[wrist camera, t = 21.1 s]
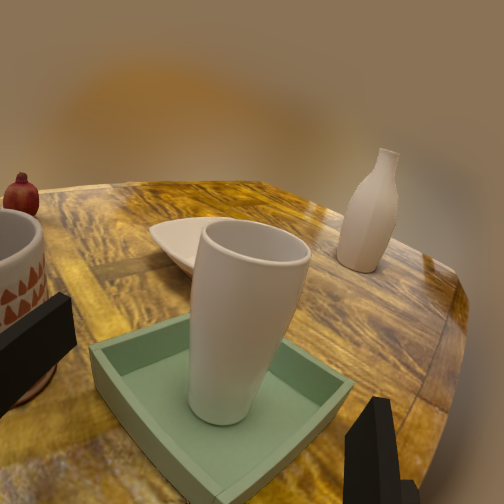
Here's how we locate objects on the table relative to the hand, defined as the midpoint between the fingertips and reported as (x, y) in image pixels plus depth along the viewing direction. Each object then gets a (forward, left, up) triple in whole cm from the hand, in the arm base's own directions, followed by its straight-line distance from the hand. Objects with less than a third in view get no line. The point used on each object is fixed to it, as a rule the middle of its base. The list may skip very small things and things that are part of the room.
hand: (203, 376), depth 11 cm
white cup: (+4, -7, -12) cm, 15 cm away
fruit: (+55, 0, -13) cm, 57 cm away
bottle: (+13, -56, -13) cm, 59 cm away
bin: (+4, -7, -13) cm, 16 cm away
